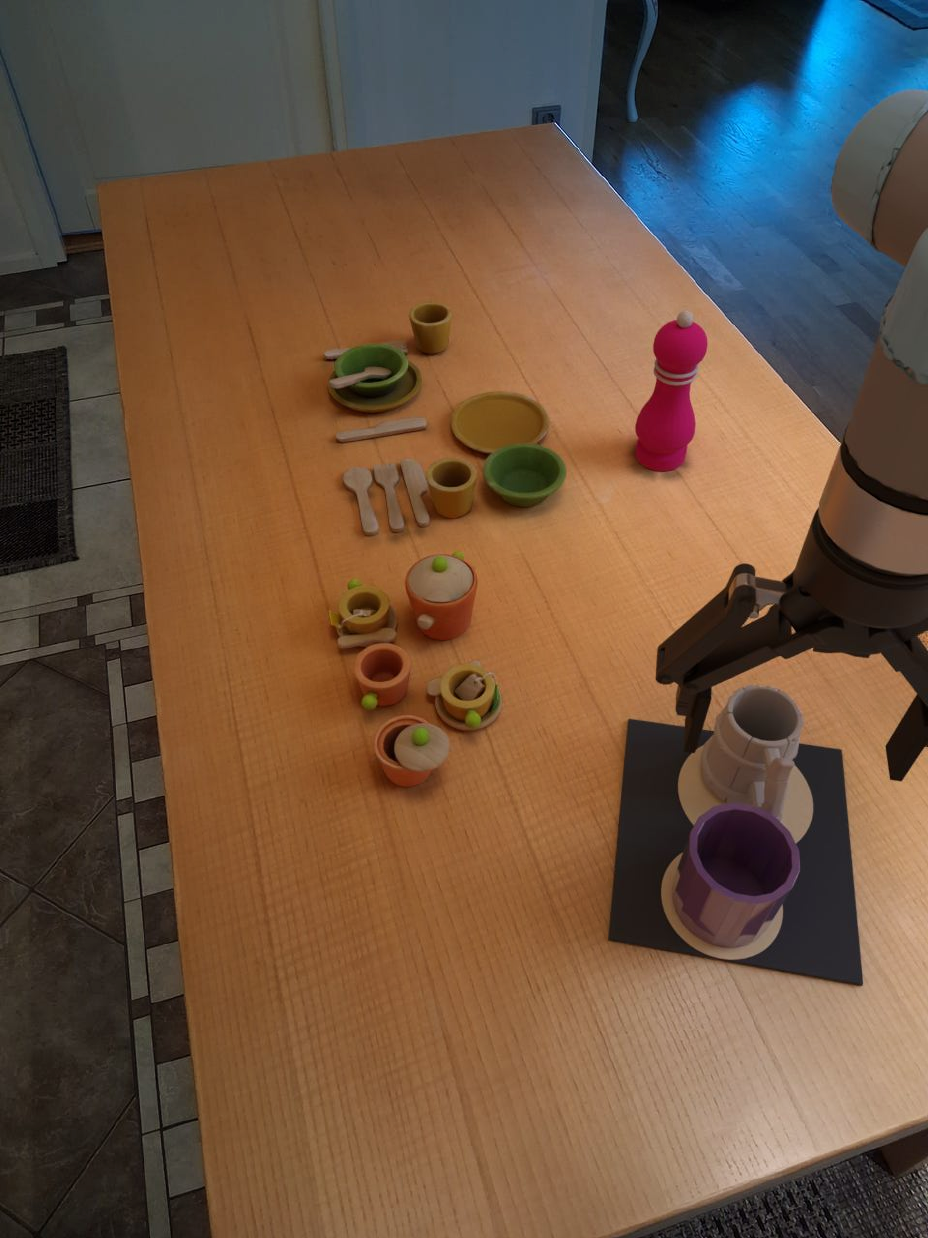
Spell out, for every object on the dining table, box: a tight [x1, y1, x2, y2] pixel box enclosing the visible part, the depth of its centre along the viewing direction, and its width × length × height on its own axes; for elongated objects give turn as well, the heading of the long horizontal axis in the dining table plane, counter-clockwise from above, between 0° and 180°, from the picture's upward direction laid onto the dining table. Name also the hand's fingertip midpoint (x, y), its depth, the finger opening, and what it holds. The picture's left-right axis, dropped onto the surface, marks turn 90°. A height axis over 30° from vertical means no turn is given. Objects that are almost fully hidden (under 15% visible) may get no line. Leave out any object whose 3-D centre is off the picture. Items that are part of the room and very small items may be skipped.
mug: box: [701, 684, 804, 821], centre depth 77 cm, size 8×12×12 cm, turn 0°
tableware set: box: [323, 301, 567, 537], centre depth 116 cm, size 41×28×6 cm
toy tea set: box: [328, 550, 503, 788], centre depth 88 cm, size 26×16×10 cm, turn 15°
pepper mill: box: [634, 310, 709, 472], centre depth 106 cm, size 7×7×20 cm
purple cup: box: [672, 803, 800, 948], centre depth 72 cm, size 8×8×9 cm
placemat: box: [607, 718, 864, 987], centre depth 79 cm, size 20×22×1 cm
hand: (789, 750), depth 62 cm, fingers open, 13 cm apart
